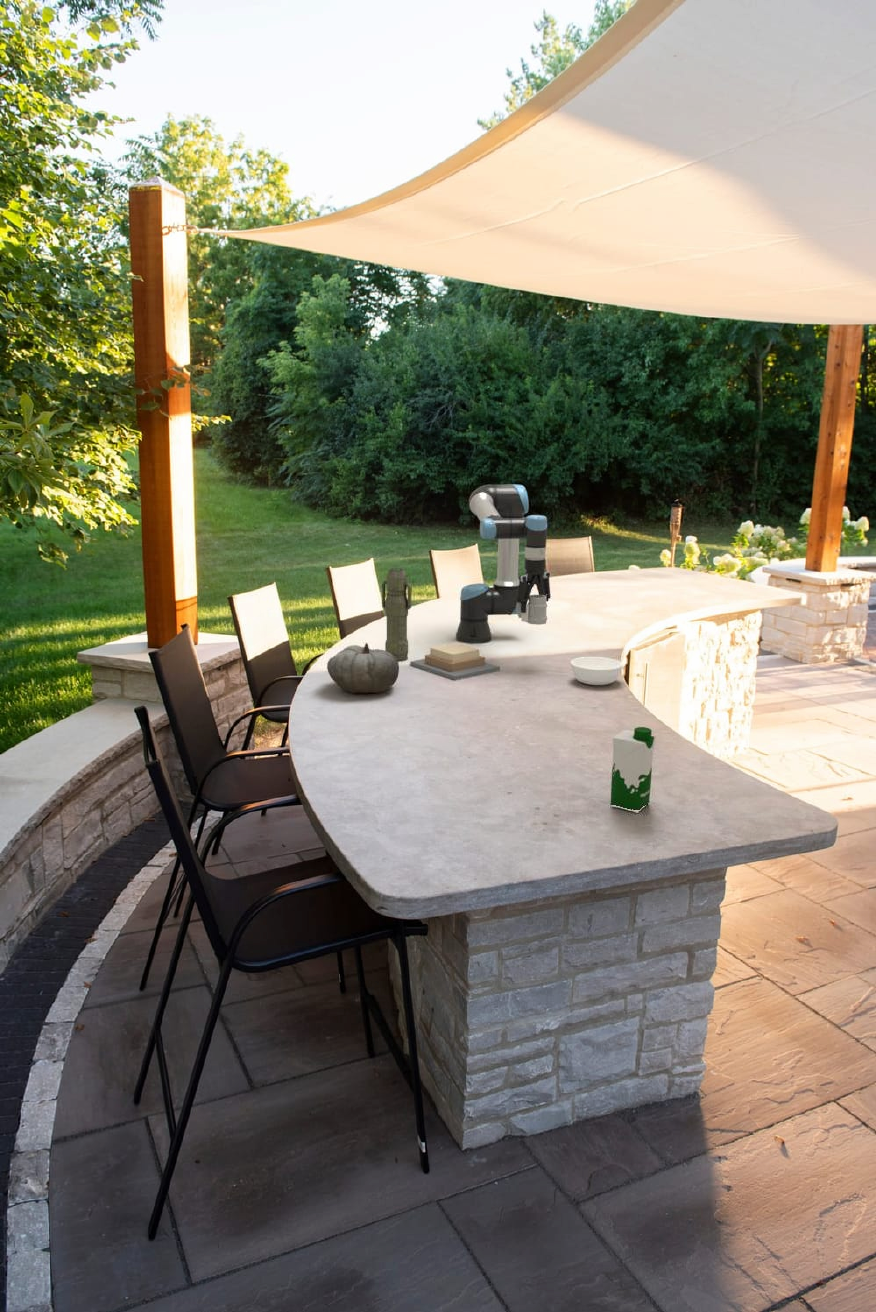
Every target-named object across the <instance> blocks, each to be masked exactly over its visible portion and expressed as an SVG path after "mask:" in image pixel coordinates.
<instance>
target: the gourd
mask: <svg viewBox="0 0 876 1312" xmlns="http://www.w3.org/2000/svg"><path fill="white" fill-rule="evenodd" d="M399 665H400V664H399V662H398V661H397V660H396V658H395V657H394V656H393V655H392V654H391V653H389V652H387V651H385V649H379V648H376V649H374V648H373V649H371V648H370V647H369V643H368V642H365V645H364V646H360V645H357V644H356V645H355V644H354V645H348V646H346V647H345V648H343V649H342V650H340V651H339V652H337V654H335V655H334V656H331V657H330V658H329V659H328V661H327V665H326V668H327V672H328V674H329V677H330V678H331V680H332V681H334V683H335V684H336V685H337V686H339V687H340V688H341V689H342V690H344V691H346V692H348V693H351V694H359V693H362V694H367V693H371V694H374V693H376V694H377V693H379V694H380V693H382V692H384V691H387V690H388V689H391V687H393V686H394V684H395V683H396V682H397V680H398V677H399V673H400V666H399Z"/></svg>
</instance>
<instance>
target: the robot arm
mask: <svg viewBox="0 0 876 1312" xmlns="http://www.w3.org/2000/svg"><path fill="white" fill-rule="evenodd" d="M529 505H530V504H529V496H528V492H527V489H526V487H525V486H524V485H522V484H514V483H513V484H511V483H510V484H509V483H507V484H485V485H482V486H479V487H478V488H476V489H475V490H474V491H473V492H472V493H471V494H470V496H469V498H468V506H469V509H470V511H471V512H472V513H473V514H474V515H475V516H477V518H478V520H479V522H480V523H479V534H480V538H482V539H484V540H498V543H497V546H498V547H497V569H496V570H497V572H496V573H497V574H496V576H497V577H496V579H495V581H493V584H492V585H493V586H491V587H490V586H489V584H488V583H471V584H468V585H465V586H463V587H462V588H461V591H460V597H459V600H460V610H459V611H460V612H459V614H460V615H459V617H460V618H459V619H460V620H459V624H458V628H457V631H456V633H455V640H456V641H457V642H460V643H463V644H464V643H465V644H483V643H490V642H491V641H492V633H491V628H490V625H489V616H499V615H500V616H501V615H503V616H505V615H507V616H511V615H517V612H516V610H517V609H516V605H517V602H518V603H521V613H522V617H521V622H523V623H524V622H525V623H527V622H528V611H529V604H528V603H529V600H528V599H529V596H530V595H531V593H532V590H533V588H534V587H535V586H536V589H537V592H538V593H537V594H538V595H544V596H546V602H549V599H551V587H550V586H551V585H550V584H551V583H550V577H551V576H550V572H547V571H546V572H545V569H546V563H547V562H546V555H547V551H546V550H547V537H548V536H547V534H548V533H547V532H548V531H547V530H548V518H547V516H545V515H540V514H532V515H528V516H526V517H525V514H527V513H528V512H529V509H530V508H529ZM521 539H522V540H525V543H524V544H525V545H524V546H525V547H524V558H525V559H524V569H525V574H524V575H519V557H520V556H519V555H520V551H519V550H520V540H521ZM518 575H519V576H518Z"/></svg>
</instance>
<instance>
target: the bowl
mask: <svg viewBox="0 0 876 1312" xmlns="http://www.w3.org/2000/svg"><path fill="white" fill-rule="evenodd" d="M570 669H571V671H572V672H573V675H574V677H575V679H576V680H577V681H579V682H581V683H583V684H586V685H588V686H589V685H590V686H605V685H606V686H607V685H609V684H613V683H614V682H615V681H617V679H618V678H619V675H620V674H621V672H622V670H623V662H621V661H620V660H618V659H614V658H610V657H603V656H581V657H575V658H573V659H572V660H570Z"/></svg>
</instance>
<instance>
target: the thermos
mask: <svg viewBox="0 0 876 1312" xmlns="http://www.w3.org/2000/svg"><path fill="white" fill-rule="evenodd" d="M412 590H413V586H412V585H411V583H410V582H408V581H407V574H406V571H405V570H404V569H403V568H391V569H389V570H388V572H387V575H386V580H384V581H383V582H382V584H381V605H382V608H384V611H385V612H384V613H385V614H384V615H385V616H386V640H385V645H384V646H385V648H384V651H387V652H389V653H391V654H392V655H393V656H394V657H395V658H396V660H397V661H398V663H399V662H405V661H408V660H409V657H408V655H409V641H408V616H409V610H411V608H412V595H413V593H412V592H413V591H412ZM386 591H387V593H386Z"/></svg>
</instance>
